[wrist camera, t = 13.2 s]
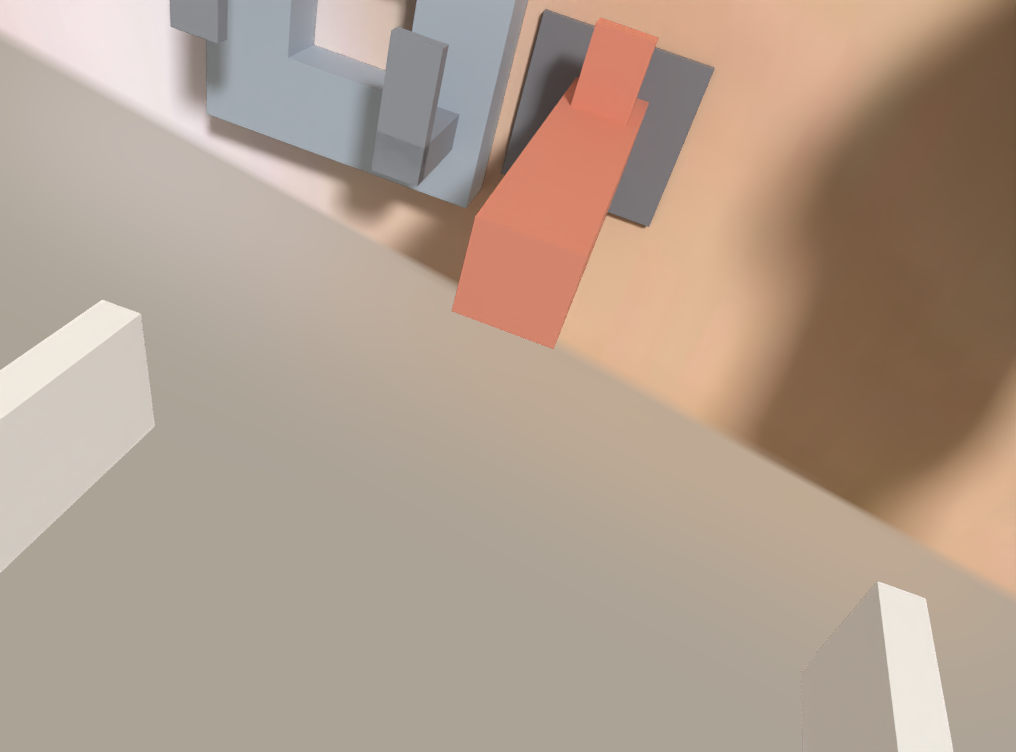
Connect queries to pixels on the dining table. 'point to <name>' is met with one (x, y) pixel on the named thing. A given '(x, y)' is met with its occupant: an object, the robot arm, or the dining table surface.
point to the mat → (665, 86)
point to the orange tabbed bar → (557, 195)
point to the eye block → (366, 86)
